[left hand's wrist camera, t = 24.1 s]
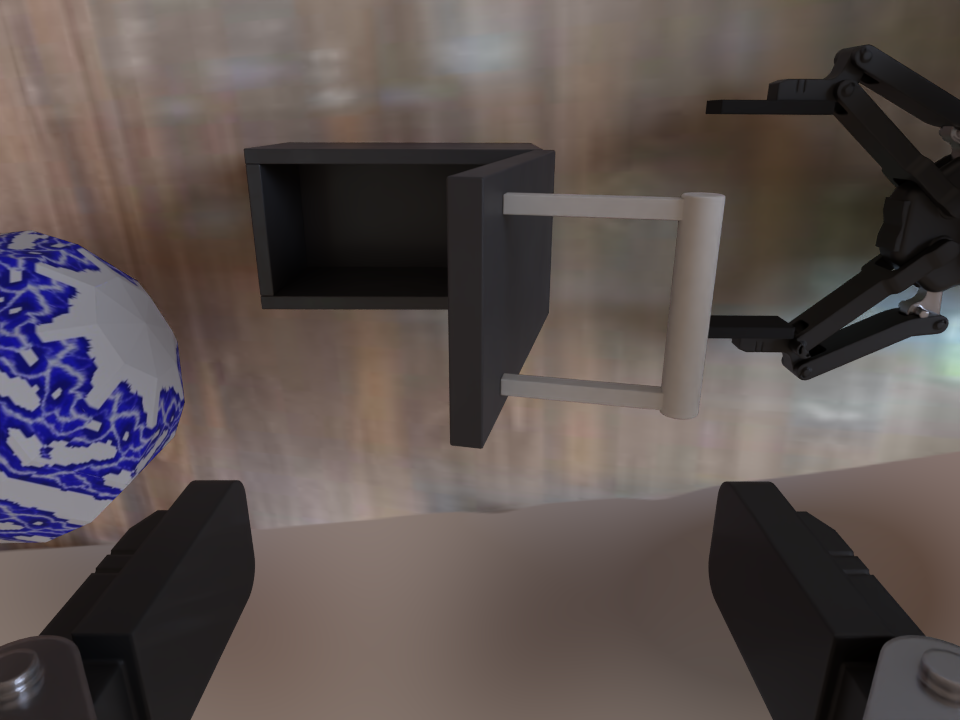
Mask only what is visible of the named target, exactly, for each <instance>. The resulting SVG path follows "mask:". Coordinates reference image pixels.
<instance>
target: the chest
mask: <svg viewBox="0 0 960 720" xmlns="http://www.w3.org/2000/svg"><path fill="white" fill-rule="evenodd" d="M533 150H543V149H541V148H539V147H537V146H535V145H533V144H531V143H281V144H274V145H267V146H260V147H253V148H245V149H244V156H245V163H246V172H247V181H248V189H249V198H250V207H251V216H252V225H253V233H254V242H255V251H256V260H257V269H258V277H259V286H260V295H261V304H262V309H448V257H447V187H446V179H447V177H448V176H451V175H454V174H458V173H461V172H464V171H467V170H471V169H474V168H477V167H481V166H484V165H487V164H490V163H494V162H497V161H500V160H504V159H507V158H510V157H513V156H517V155H520V154H523V153H526V152H530V151H533Z"/></svg>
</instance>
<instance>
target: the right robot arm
mask: <svg viewBox="0 0 960 720" xmlns="http://www.w3.org/2000/svg"><path fill="white" fill-rule="evenodd" d="M858 83H861V84H863V85H864V86H866V87H868V88H869V89H871V90H873V91H874V92H876V93H877V94H879V95H881V96H882V97H884V98H886V99H887V100H889V101H891V102H892V103H894V104H895V105H897V106H899V107H900V108H902V109H904V110H905V111H907V112H909V113H910V114H912V115H913V116H915V117H917V118H918V119H920V120H922V121H924V122H926V123H927V124H930V125H933V126H937V127H941V128H940V130H939V135H940V136H942V139H943V140H944V141H946V142H948V143H950V144H951V146H952V154H951V155H948V156H945V157H943V158H942V159H940V160H939V161H937V162H935V163H933V162H932V161H931V160H930V159H929V158H927V157H925V156H923V155H922V154H921V153H920V152H919V151H918V150H917V149H916V148H915V147H914V146H913V145H912V143H911V142H910V141H909V140H908V139H907V138H906V137H905V136H904V134H903V133H902V132H901V131H900V130H899V129H898V128H897V127H896V126H895V124H894V123H893V122H892V121H891V120H890V119H889V118H888V117H887V115H886V114H885V113H884V112H883V111H882V110H881V109H880V108H879V107H878V105H877V104H876V103H875V102H874V101H873V100H872V99H871V98H870V96H869V95H868V94H867V93H866V92H865V91H864V90H863V89H862V88H861V86H860V85H859V84H858ZM706 114H782V115H834V116H835V117H836V118H837V119H838V120H839V121H840V123H841V124H842V125H843V126H844V127H845V128H846V129H847V130H848V131H849V132H850V133H851V134H852V136H853V137H854V138H855V139H856V140H857V141H858V142H859V143H860V144H861V145H862V146H863V148H864V149H865V150H866V151H867V152H868V153H869V154H870V155H871V156H872V157H873V158H874V159H875V161H876V162H877V163H878V164H879V165H880V166H881V167H882V172H883V173H884V175H885V176H886V177H887V178H888V179H889V180H890V181H891V182H892V183H893V184H894V185H895V187H896V189H895V190H894V191H893V193H892V194H891V196H890V197H886V199H885V204H884V208H883V214H884V223H883V225H882V227H881V229H880V231H879V233H878V237H877V241H876V246H877V247H879V250H880V253H881V254H879V255H878V256H876V257H875V258H874V259H872V260H871V261H869V262H868V263H866V264H865V265H864V266H863V267H862V268H861V272H860V273H859V274H857V275H856V276H854V277H853V278H852V279H850V280H849V281H847V282H846V283H844V284H843V285H842V286H840V287H839V288H837V289H836V290H835V291H833V292H832V293H830V294H829V295H827V296H826V297H825V298H823V299H822V300H820V301H819V302H818V303H816V304H815V305H813V306H812V307H810V308H809V309H808V310H806V311H805V312H803V313H802V314H801V315H799V316H798V317H796V318H795V319H793V320H792V321H791V322H789V323H787V322H786V321H784V320H783V319H781V318H780V317H778V316H720V315H711V316H710V324H709V332H708V338H732V343H733V344H734V345H735V346H736V347H737V348H738V349H740V350H743V351H745V352H782V354H783V357H782V364H783V365H784V366H785V367H786V368H787V369H788V370H790V371H791V372H792V373H793V374H794V375H796V376H797V377H798V378H799V379H801V380H809V379H811V378H813V377H816V376H818V375H821V374H823V373H825V372H828V371H830V370H832V369H835V368H837V367H840V366H842V365H844V364H847V363H849V362H852V361H854V360H856V359H859V358H861V357H863V356H866V355H868V354H871V353H873V352H875V351H878V350H880V349H882V348H885V347H887V346H890V345H892V344H894V343H897V342H899V341H902V340H904V339H906V338H909V337H911V336H920V335H930V334H938V333H942V332H943V331H945V330H946V328H947V327H948V319H947V318H946V317H944V316H942V315H940V307H941V299H942V292H943V291H945V290H947V289H949V288H951V287H954V286H958V285H960V100H959V99H957V98H956V97H954V96H953V95H951V94H949V93H948V92H946V91H945V90H943V89H941V88H940V87H938V86H936V85H935V84H933V83H932V82H930V81H928V80H927V79H925V78H924V77H922V76H920V75H919V74H917V73H916V72H914V71H912V70H911V69H909V68H908V67H906V66H904V65H903V64H901V63H900V62H898V61H896V60H895V59H893V58H892V57H890V56H888V55H887V54H885V53H884V52H882V51H880V50H879V49H877V48H876V47H874V46H872V45H862V46H856V47H851V48H846V49H842V50H840V51H839V52H838V53H837V54H836V56H835V58H834V67H833V69H832V71H831V72H830V74H829V75H828V76H827V77H826V78H824V79H784V80H777V81H775V82H772V83H770V84H769V89H768V96H767V100H712V101H707V106H706ZM894 268H895V269H896V270H893V269H894ZM891 270H893V271H891ZM911 285H914V286H916V287H918V288H919V289H918V292H917V294H916V295H915V296H914V297H913V298H911V299H908V300H906V301H901V302H900V303H899V305H898V306H899V308H894V309H890V310H886V311H883V312H880V313H878V314H876V315H873V316H871V317H869V318H866V319H864V320H862V321H859V322H857V323H855V324H852V325H850V326H848V327H845V328H843V327H844V326H846V325H847V324H848V323H850V322H851V321H853V320H854V319H856V318H857V317H859V316H860V315H862V314H863V313H864V312H866V311H867V310H869V309H870V308H872V307H873V306H875V305H876V304H877V303H879V302H880V301H882V300H883V299H885V298H886V297H888V296H889V295H891V294H897V293H900V292H902V291H904V290H905V289H907V288H908V287H910V286H911ZM841 328H843V329H841ZM840 329H841V330H840Z"/></svg>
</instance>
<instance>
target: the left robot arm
mask: <svg viewBox="0 0 960 720" xmlns="http://www.w3.org/2000/svg"><path fill="white" fill-rule="evenodd" d="M254 573H255V558H254V550H253V543H252V536H251V528H250V521H249V514H248V507H247V500H246V493H245V489H244V486H243V484H242V483H241V482H240V481H238V480H195V481H192V482H190V484H189V485H188V486H187V487H186V488H185V490H184V491H183V492H182V493H181V495H180V496H179V497H178V498H177V500H176V501H175V502H174V503H173V505H172V506H171V507H170V509H169V510H157V511H156V512H154V513H153V514H151V515H150V516H148V517H147V518H145V519H144V520H142V521H141V522H139V523H137V524H136V525H134V526H133V527H131V528H130V529H129V530H128V531H127V532H126V533H125V535H124V536H123V537H122V538H121V539H120V540H119V542H118V543H117V544H116V545H115V546H114V548H113V549H112V550H111V555H107V556H106V557H105V558H104V559H103V560H102V562H101V563H100V564H99V565H98V566H97V568H96V572H95V573H91V575H90V576H89V577H88V578H87V579H86V581H85V582H84V583H83V584H82V585H81V586H80V588H79V589H78V590H77V591H76V592H75V593H74V595H73V596H72V597H71V598H70V599H69V601H68V602H67V603H66V604H65V605H64V607H63V608H62V609H61V610H60V611H59V612H58V613H57V615H56V616H55V617H54V618H53V619H52V621H51V622H50V623H49V624H48V625H47V626H46V628H45V629H44V630H43V631H42V632H41V633H40V635H39V636H34V637H28V638H24V639H20V640H17V641H13V642H10V643H8V644H5V645H3V646H0V720H191V718H192V716H193V713H194V711H195V709H196V707H197V705H198V703H199V701H200V699H201V697H202V695H203V693H204V691H205V688H206V686H207V684H208V682H209V680H210V678H211V676H212V674H213V672H214V670H215V668H216V665H217V663H218V661H219V659H220V657H221V655H222V653H223V651H224V649H225V647H226V645H227V643H228V640H229V638H230V636H231V634H232V632H233V630H234V628H235V626H236V624H237V622H238V620H239V617H240V615H241V613H242V611H243V609H244V607H245V605H246V603H247V601H248V599H249V596H250V593H251V590H252V586H253V581H254ZM709 580H710V585H711V590H712V593H713V596H714V599H715V601H716V603H717V605H718V607H719V609H720V611H721V613H722V616H723V618H724V620H725V622H726V624H727V626H728V628H729V630H730V632H731V634H732V636H733V638H734V640H735V642H736V644H737V646H738V649H739V651H740V653H741V655H742V657H743V659H744V661H745V663H746V665H747V667H748V669H749V671H750V673H751V675H752V677H753V679H754V681H755V684H756V686H757V688H758V690H759V692H760V694H761V696H762V698H763V700H764V702H765V704H766V706H767V708H768V710H769V712H770V714H771V716H772V719H773V720H960V646H957V645H955V644H953V643H949V642H946V641H943V640H940V639H936V638H932V637H926V636H925V635H924V633H923V632H922V631H921V630H920V629H919V628H918V626H917V625H916V624H915V623H914V622H913V621H912V620H911V618H910V617H909V616H908V615H907V614H906V612H905V611H904V610H903V609H902V608H901V607H900V606H899V604H898V603H897V602H896V601H895V600H894V598H893V597H892V596H891V595H890V594H889V593H888V591H887V590H886V589H885V588H884V587H883V586H882V585H881V583H880V582H879V581H878V580H877V579H876V577H875V576H874V575H870V574H869V569H868V568H867V567H866V566H865V565H864V563H863V562H862V561H861V560H860V559H859V558H858V557H857V556H854V553H853V551H852V549H851V548H850V547H849V546H848V545H847V544H846V543H845V541H844V540H843V539H842V538H841V537H840V535H839V534H838V533H837V532H836V531H835V530H834V529H832V528H831V527H829V526H828V525H826V524H825V523H823V522H822V521H820V520H819V519H817V518H815V517H814V516H812V515H811V514H809V513H808V512H796V511H795V510H794V508H793V507H792V506H791V504H790V503H789V502H788V501H787V499H786V498H785V497H784V496H783V495H782V493H781V492H780V491H779V490H778V488H777V487H776V486H775V485H774V484H773V483H772V482H724V483H722V485H721V487H720V489H719V492H718V498H717V505H716V512H715V519H714V526H713V534H712V540H711V548H710V555H709Z"/></svg>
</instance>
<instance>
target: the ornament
mask: <svg viewBox="0 0 960 720" xmlns="http://www.w3.org/2000/svg"><path fill="white" fill-rule="evenodd" d="M184 403H185V401H184V392H183V384H182V375H181V367H180V359H179V350H178V342H177V340H176V338H175V336H174V333H173V331H172V329H171V328H170V326H169V325H168V323H167V322H166V320H165V319H164V317H163V316H162V314H161V313H160V311H159V310H158V308H157V307H156V305H155V304H154V302H153V301H152V299H151V297H150V296H149V295H148V293H147V292H146V291H145V290H144V289H143V287H142V286H141V285H140V284H139V282H138V281H137V280H135V279H133V278H132V277H130V276H128V275H127V274H125V273H123V272H122V271H120V270H119V269H117V268H115V267H114V266H112V265H110V264H109V263H107V262H106V261H104V260H102V259H101V258H99V257H97V256H96V255H94V254H93V253H91V252H89V251H88V250H86V249H84V248H83V247H81V246H80V245H78V244H74V243H71V242H68V241H65V240H61V239H58V238H55V237H51V236H48V235H45V234H42V233H38V232H35V231H32V230H31V231H21V232H12V233H2V234H0V543H26V542H47V541H50V540H52V539H54V538H56V537H59V536H61V535H63V534H66V533H68V532H70V531H72V530H75V529H77V528H79V527H81V526H84V525H86V524H88V523H91V522H92V521H93V520H94V519H95V518H96V517H97V516H98V515H99V514H100V513H101V512H102V511H103V510H104V509H105V508H106V507H107V506H108V505H109V504H110V503H111V502H112V501H113V500H114V499H115V498H116V497H117V496H118V495H119V494H120V493H121V492H122V491H123V490H124V489H125V488H126V487H127V486H128V485H129V483H130V482H131V481H132V480H133V479H134V478H135V477H136V476H137V475H138V474H139V473H140V472H141V471H142V470H143V469H144V468H145V467H146V466H147V465H148V463H149V462H150V461H151V460H152V459H153V458H154V457H155V456H156V455H157V454H158V453H159V452H160V451H161V450H162V449H163V448H164V447H165V446H166V445H167V444H168V442H169V441H170V440H171V439H172V438H173V437H174V436H175V433H176V429H177V426H178V423H179V419H180V416H181V413H182V410H183V406H184Z"/></svg>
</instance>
